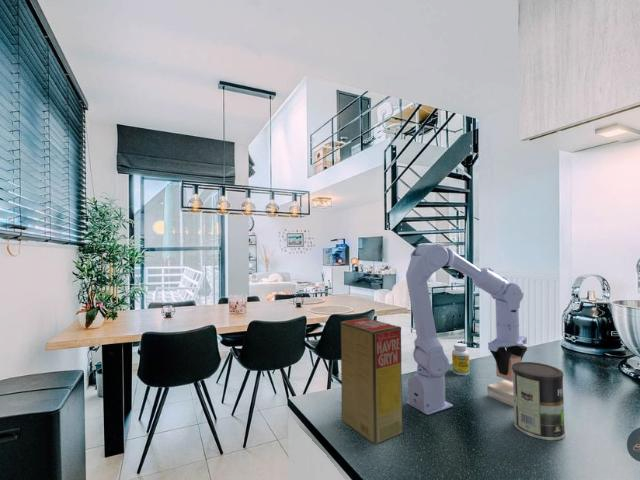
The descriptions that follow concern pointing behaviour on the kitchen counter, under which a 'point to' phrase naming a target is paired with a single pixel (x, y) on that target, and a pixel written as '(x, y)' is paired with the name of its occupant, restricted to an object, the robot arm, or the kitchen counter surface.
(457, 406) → the kitchen counter surface
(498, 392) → the base
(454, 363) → the supplement bottle
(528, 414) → the coffee can
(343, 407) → the food packaging
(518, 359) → the terracotta block
